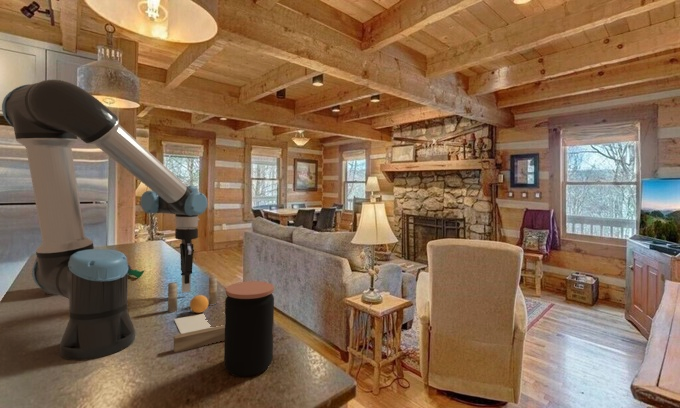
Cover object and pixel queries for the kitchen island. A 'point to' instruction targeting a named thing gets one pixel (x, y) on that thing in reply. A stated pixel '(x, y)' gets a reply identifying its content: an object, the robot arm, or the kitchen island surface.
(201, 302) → the ball
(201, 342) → the stopper wall
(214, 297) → the post right
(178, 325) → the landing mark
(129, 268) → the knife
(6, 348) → the kitchen island surface
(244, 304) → the coffee jar
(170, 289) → the post left
